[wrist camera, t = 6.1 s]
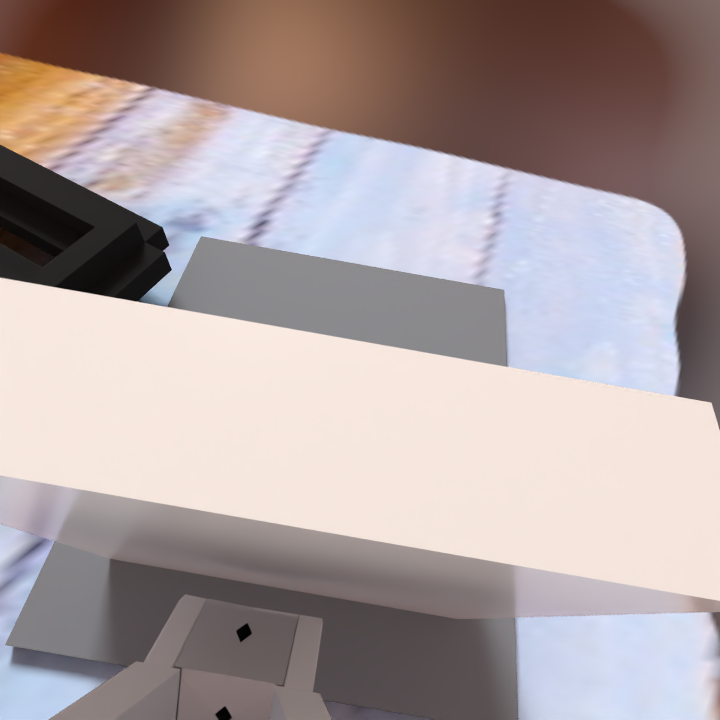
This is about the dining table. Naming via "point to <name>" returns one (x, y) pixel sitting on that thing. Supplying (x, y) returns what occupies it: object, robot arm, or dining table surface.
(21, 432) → the tile
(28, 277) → the tool
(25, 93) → the dining table surface
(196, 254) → the mat
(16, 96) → the dining table surface
